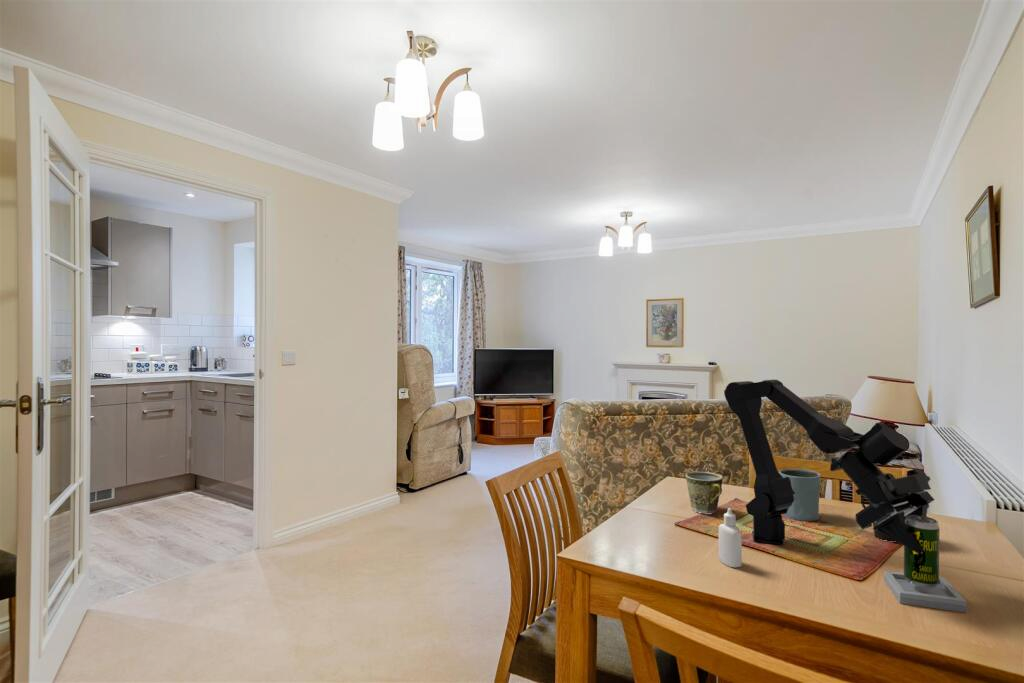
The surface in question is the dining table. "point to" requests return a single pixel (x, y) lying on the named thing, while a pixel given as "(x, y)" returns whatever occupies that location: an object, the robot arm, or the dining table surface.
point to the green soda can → (925, 564)
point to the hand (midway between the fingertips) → (929, 549)
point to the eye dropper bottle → (730, 541)
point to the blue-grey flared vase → (803, 494)
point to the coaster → (925, 593)
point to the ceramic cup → (704, 491)
